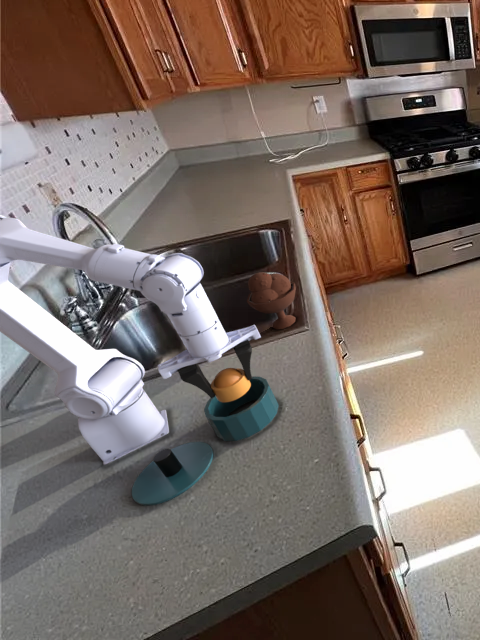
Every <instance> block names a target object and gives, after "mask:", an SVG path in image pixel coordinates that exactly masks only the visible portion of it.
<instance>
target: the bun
mask: <svg viewBox="0 0 480 640" xmlns="http://www.w3.org/2000/svg"><path fill="white" fill-rule="evenodd" d="M210 384H211V389H212V390H213V392H214V394H215V396H216V398H217V399H218V401H220V402H230V401H233V400H236V399H238V398H240V397H241V396H243V395H244V394H245V393H246V392H247V391H248V390H249V389H250V386H251V383H250V381H249V380H248V379H247V377H246V374H245V372H244V369H243V368H234V367H227V368H223V369H222V370H220V371H218V373H217V374H215V377H214V378H213V380H212V381H211V383H210Z"/></svg>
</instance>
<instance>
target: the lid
mask: <svg viewBox="0 0 480 640" xmlns="http://www.w3.org/2000/svg"><path fill="white" fill-rule="evenodd" d="M213 459H214V450H213V448H212V447H211V445H209V443H207V442H205V441H190V442H185V443H183V444H179V445H177V446H175V447H173V448H164V449H163V448H162V449H161V450H159V451H158V452H157V453H156V454H154V456H153V458H152V461H151V462H150V463H148V465H146V466H145V468H144V469H143V470H141V472H140V473H139V474H138V476H137V477H136V478H135V481H134V483H133V485H132V487H131V497H132V499H133V501H134V502H135V503H136V504H138V505H140V506H156V505H160V504H163V503H167V502H169V501H171V500H174V499H175V498H176V497H179V496H180V495H182V494H184V493H185V492H186V491H188V490H189V489H191V488H192V487H193V486H195V484H196V483H198V482H199V481H200V480H201V479H202V478H203V476H204V475H205V474H206V473H207V471H208V470H209V469H210V467H211V465H212V462H213Z"/></svg>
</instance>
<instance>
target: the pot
mask: <svg viewBox="0 0 480 640" xmlns="http://www.w3.org/2000/svg"><path fill="white" fill-rule="evenodd" d="M249 381H250V383H251V386H250V389H249V390H248V391H247V392H246V393H245V394H244V395H243V396H241V397H240V398H238V399H236V400H233V401H230V402H220V401H218V399H217V398H216V396H215V397H213V398H210V397H209V399H208V400H207V402H206V403H205V406H204V408H203V412H204V416H205V418H206V420H207V421H208V423H209V425H210V426H211V428H212V429H213V432H214V433H215V434H216V436H217V438H219V439H221V440H222V441H224V442H238V441H241V440H244V439H248V438H250V437H251V436H253V435H256V434H257V433H259V432H261V431H262V430H263V429H264V428H266V427H267V426H268V425H269V424H270V423H272V421H273V420H274V418H275V417H276V416H277V414H278V411H279V402H278V401H277V398H276V396H275V395H274V391H273V390H272V388H271V386H270V384H269V382H268V379H266V378H264V377H263V376H252V379H250V380H249ZM253 401H255V402H254V403H252V404H251V405H250V406H249V407H247V408H245V409H243V410H241V411H239V412H238V413H235V414H231V413H233V412H234V411H235V410H236V409H238V408H239V407H241V406H243V405H245V404H247V403H249V402H253ZM230 414H231V415H230Z"/></svg>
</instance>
